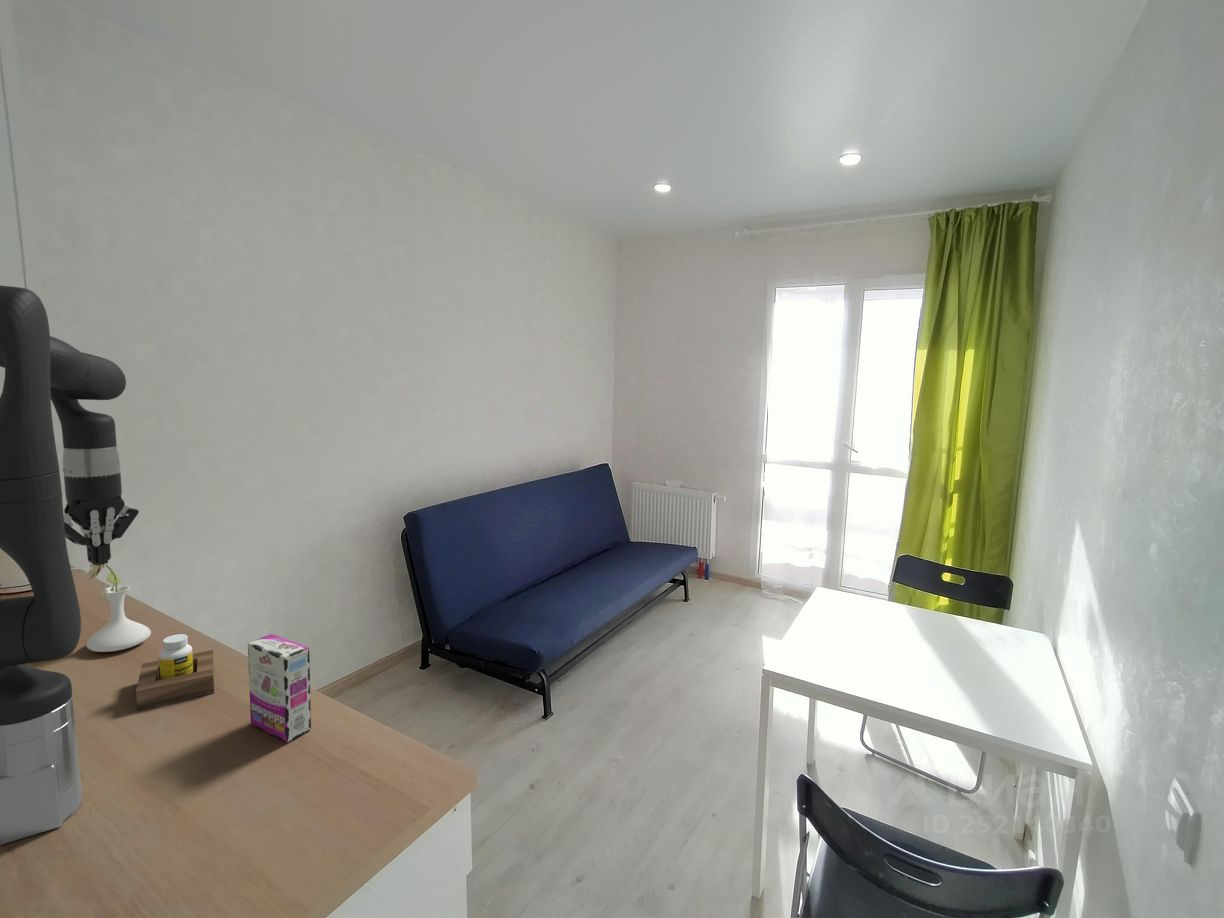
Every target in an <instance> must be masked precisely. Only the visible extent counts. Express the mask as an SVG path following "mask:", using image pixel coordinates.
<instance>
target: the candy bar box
mask: <svg viewBox="0 0 1224 918" xmlns="http://www.w3.org/2000/svg"><path fill="white" fill-rule="evenodd" d="M247 654H248V656H247V658H248V682H249V684H248V685H249V709H250V711H249V712H250V725H251V726H253V727H254V728H257V729H259V730H262V731H263V732H266V733H267V734H270V735H272V736H273V737H275V738H277V739H280V740H282V741H284V742H286V743H289V742H292V741H294V740H295V739H297V738H299V737H300V736H299V735H301V734H302V735H304V734H305V733H304V732H306V731H308V730H309V729H311V730H312V721H311V720H312V717H311V715H312V714H311V713H312V712H311V672H310V671H311V669H310V667H311V666H310V665H311V664H310V662H311V661H310V660H311V659H310V647H309V646H306V645H303V644H301V643H298V642H295V641H292V640H289V639H286V638H285V637H281V636H278V635H276V634H273V633H271V634H268V635H265V636H262V637H260V638H258V639H255V640H253V641H250V642H248V643H247ZM309 731H310V730H309ZM309 731H308V732H309ZM303 733H304V734H303ZM306 733H307V732H306ZM302 735H301V736H302ZM298 736H299V737H298ZM296 737H297V738H296ZM293 739H294V740H293Z"/></svg>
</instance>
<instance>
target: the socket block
mask: <svg viewBox="0 0 1224 918" xmlns="http://www.w3.org/2000/svg"><path fill="white" fill-rule="evenodd" d="M210 694H211V695H212V694H215V663H214V649H211V650H207V651H206V650H205V651H200V652H196V653H193V673H190V674H185V675H181V676H176V677H171V678H166V679H162V680H160V666H159V659H158V660H155V661H154V660H153V661H149V662H145V663H144V662H143V663H142V665H141V667H140V672H139V676H138V680H137V685H136V689H135V695H136V696H135V697H136V707H137V711H141V710H145V709H146V710H147V709H150V708H156V707H160V706H163V705H168V704H171V703H176V702H180V701H185V700H189V699H193V698H198V697H203V696H208V695H210Z"/></svg>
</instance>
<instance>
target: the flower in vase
mask: <svg viewBox="0 0 1224 918" xmlns="http://www.w3.org/2000/svg"><path fill="white" fill-rule="evenodd" d="M110 552H111V547H110ZM105 567H107V569H108V570H109V571H110V573H108V575H107V577H106V581H107V582H109V584H112V585H111V586H109V587H105V588H103V589H102V590H101V591H100V592H101V594H103V595H104V596H105V597H106V598H107V600H108V603H109V605H110V620H109V621H108V622H107V623H106V624H105V625H104V626H103V627H101V628H100V629H98V631H96V632H95V633H93V635H91V637H90V638H89V639H88V640H87V642H86V648H87V649H88V650H90V651H92V652H99V653H101V652H102V653H108V652H117V651H121V650H122V651H123V650H126V649H130V648H133V647H134V646H137V645H139V644H142V643H144V642H145V641H147V639H149V638H150V636H151V634H152V631H151V629H150V628H149V627H148V626H146V625H144V624H143V623H140V622H137V621H135V620H131V619H129V618H127V617H126V614H125V605H124V603H125V598H126V597H125V596H126V594H127V592H128V591H129V590H130V589H131V586H130V585H128V584H127V585H126V584H120V583H121V582H122V578H121V577H120V576H119V575H117V574H116V573H115V572H114V570H113V569H112V568H111V566H110V565H109V564H108V563H107V564H103V565H99V566H97V565H93V564H92V563H91V562H90V564H89V568H90V569H89V570H88V572H87V573H86V575H85V576H86V577H87V581H89V580H90V581H91V580H95V578H96V577H98V576H99V574H100V573H101V572H102V570H103V569H104V568H105ZM119 584H120V585H119Z"/></svg>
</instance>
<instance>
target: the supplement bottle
mask: <svg viewBox="0 0 1224 918" xmlns="http://www.w3.org/2000/svg"><path fill="white" fill-rule="evenodd" d="M188 638H189V637H188V635H187V634H184V633H182V634H181V633H178V634H172V635H169V636H167V637H165V638H163V640H162V647H163V648H162V649H161V651H159V654H158V660H159V666H160V680H162V679H166V678H171V677H176V676H181V675H185V674H190V673H193V654H194V653H193V646H191V645H190V644H189V643H188V642H189V639H188Z"/></svg>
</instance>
